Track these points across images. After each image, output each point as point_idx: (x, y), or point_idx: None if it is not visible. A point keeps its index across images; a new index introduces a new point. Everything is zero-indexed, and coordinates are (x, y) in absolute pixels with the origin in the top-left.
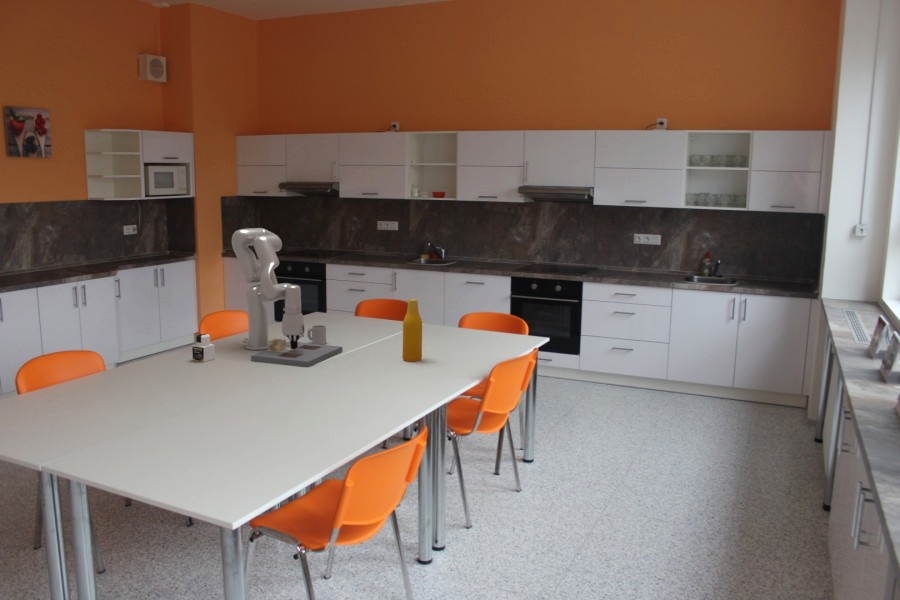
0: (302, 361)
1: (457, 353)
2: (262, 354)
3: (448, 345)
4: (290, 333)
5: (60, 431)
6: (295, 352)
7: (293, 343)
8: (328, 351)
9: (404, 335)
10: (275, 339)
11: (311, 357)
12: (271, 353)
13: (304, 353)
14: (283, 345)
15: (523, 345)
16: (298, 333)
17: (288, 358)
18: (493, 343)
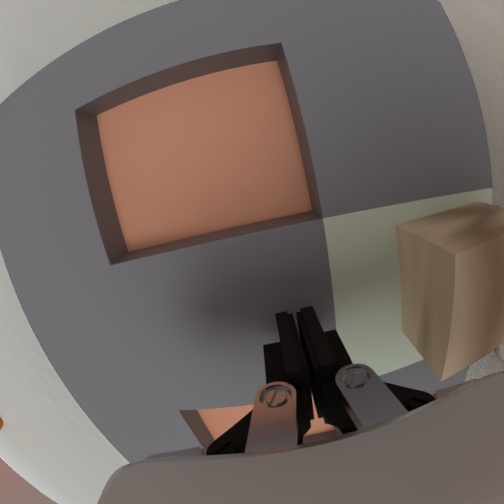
0: (4, 101)
1: (18, 458)
2: (419, 44)
3: (76, 499)
4: (352, 457)
5: None
6: (228, 278)
7: (285, 351)
8: (90, 406)
9: None
10: None
11: (14, 219)
12: (397, 104)
13: (133, 295)
14: (421, 311)
15: (40, 490)
16: (121, 482)
17: (109, 56)
18: (63, 500)
